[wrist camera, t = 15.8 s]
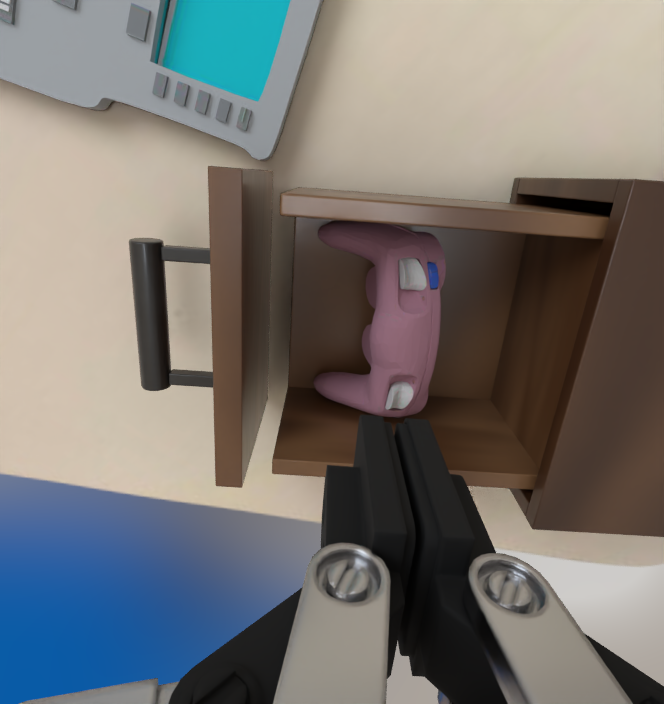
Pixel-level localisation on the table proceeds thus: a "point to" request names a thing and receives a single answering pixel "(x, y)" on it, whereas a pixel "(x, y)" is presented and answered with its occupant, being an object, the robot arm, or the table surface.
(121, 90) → the office telephone
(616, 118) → the table surface
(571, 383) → the cabinet
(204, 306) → the table surface
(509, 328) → the drawer
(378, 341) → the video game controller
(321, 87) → the table surface
